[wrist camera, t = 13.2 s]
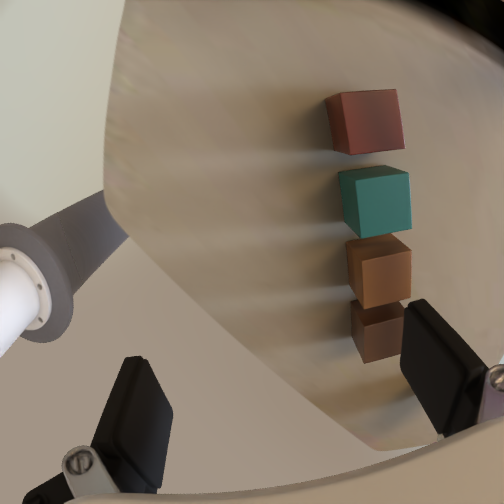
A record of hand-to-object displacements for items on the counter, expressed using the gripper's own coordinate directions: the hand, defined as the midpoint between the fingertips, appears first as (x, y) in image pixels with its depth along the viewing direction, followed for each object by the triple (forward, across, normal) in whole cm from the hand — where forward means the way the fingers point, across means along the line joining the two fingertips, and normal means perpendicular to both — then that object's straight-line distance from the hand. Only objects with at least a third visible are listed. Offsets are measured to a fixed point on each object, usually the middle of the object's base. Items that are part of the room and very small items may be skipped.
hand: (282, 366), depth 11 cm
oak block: (+21, -11, +7) cm, 24 cm away
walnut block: (+21, -11, +14) cm, 27 cm away
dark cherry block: (+20, -11, -7) cm, 24 cm away
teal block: (+20, -11, 0) cm, 23 cm away
